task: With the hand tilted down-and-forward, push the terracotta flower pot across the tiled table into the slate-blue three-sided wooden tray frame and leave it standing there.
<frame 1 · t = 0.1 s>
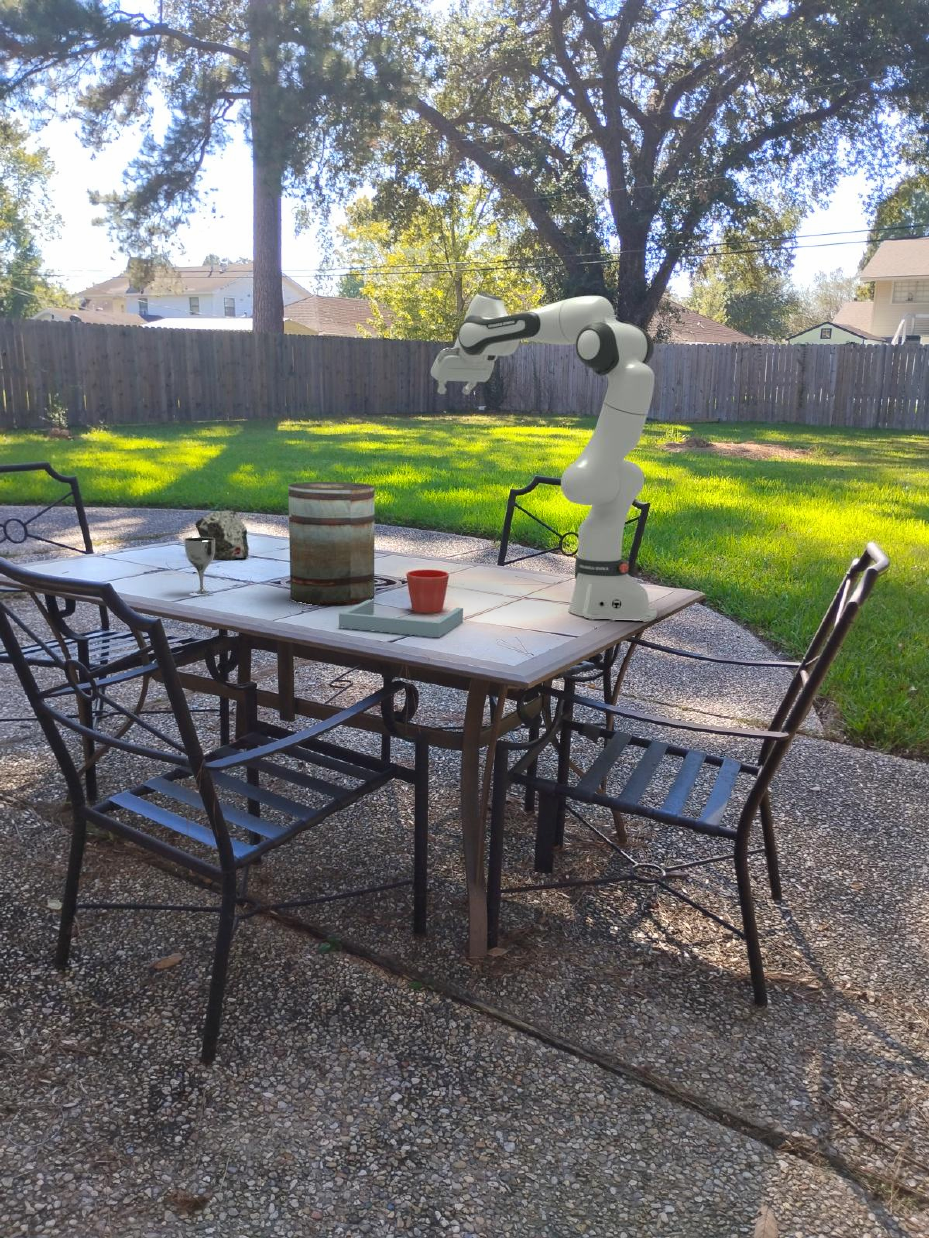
hand: (453, 393, 285), 54 cm above the table, tool tilted 30°, fingers open, 8 cm apart
tray frame: (403, 624, 240), on the table
barrel: (332, 598, 269), on the table
stone: (224, 556, 330), on the table
silver goblet: (201, 594, 270), on the table
flower pot: (427, 611, 256), on the table
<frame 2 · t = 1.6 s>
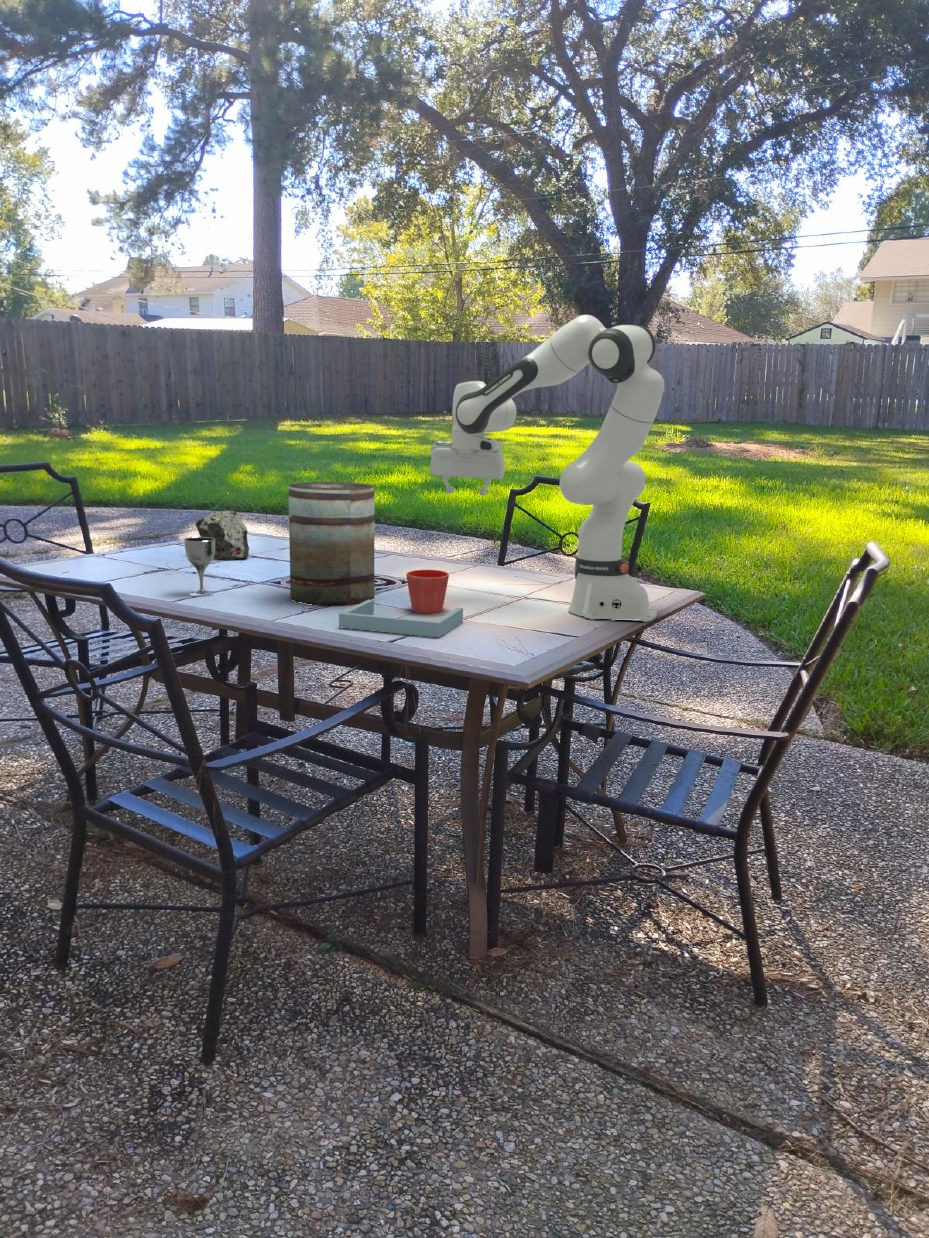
hand: (466, 494, 271), 28 cm above the table, tool pointing down, fingers open, 8 cm apart
nothing on the table moved.
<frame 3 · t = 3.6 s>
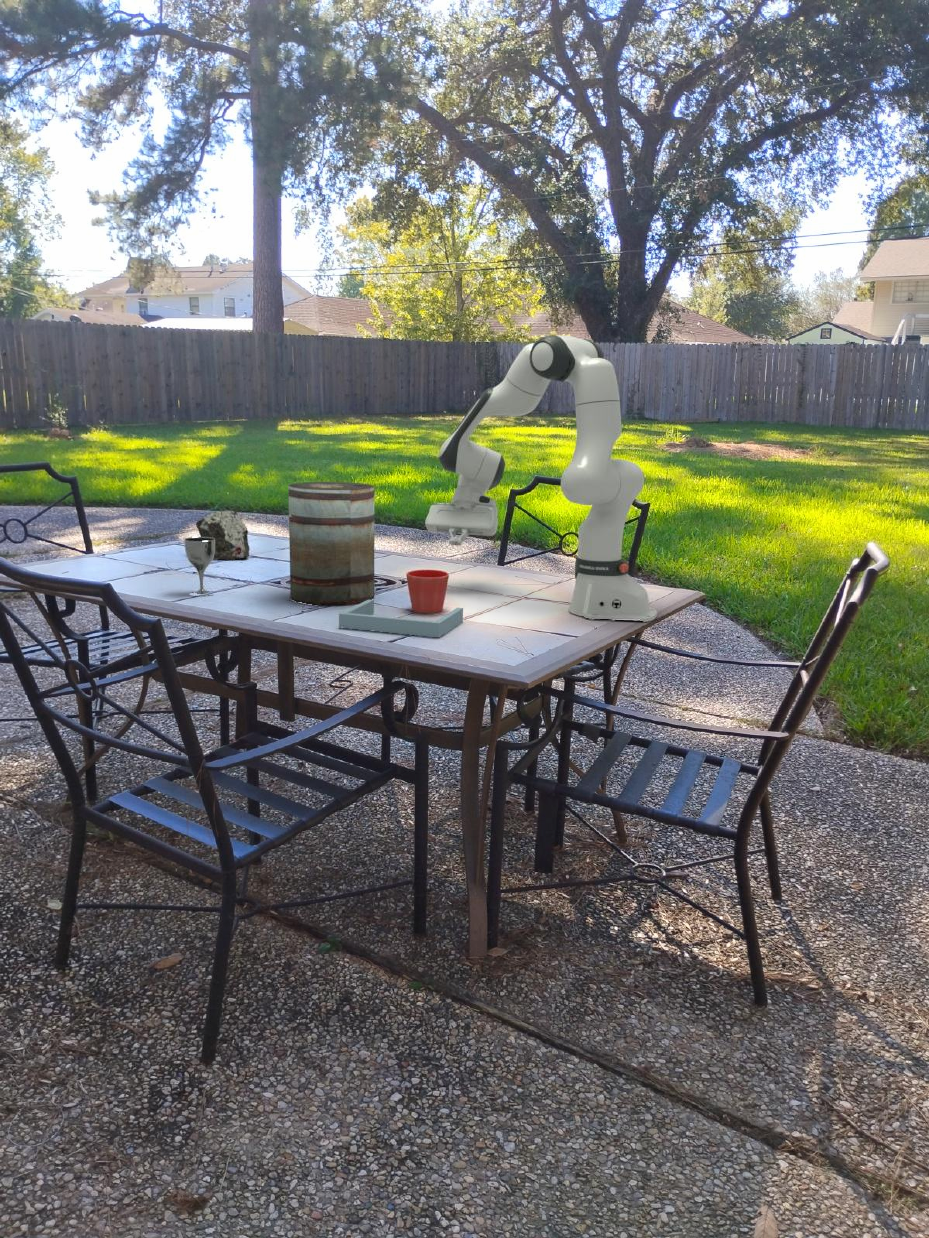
hand: (455, 544, 273), 14 cm above the table, tool tilted 45°, fingers closed
nothing on the table moved.
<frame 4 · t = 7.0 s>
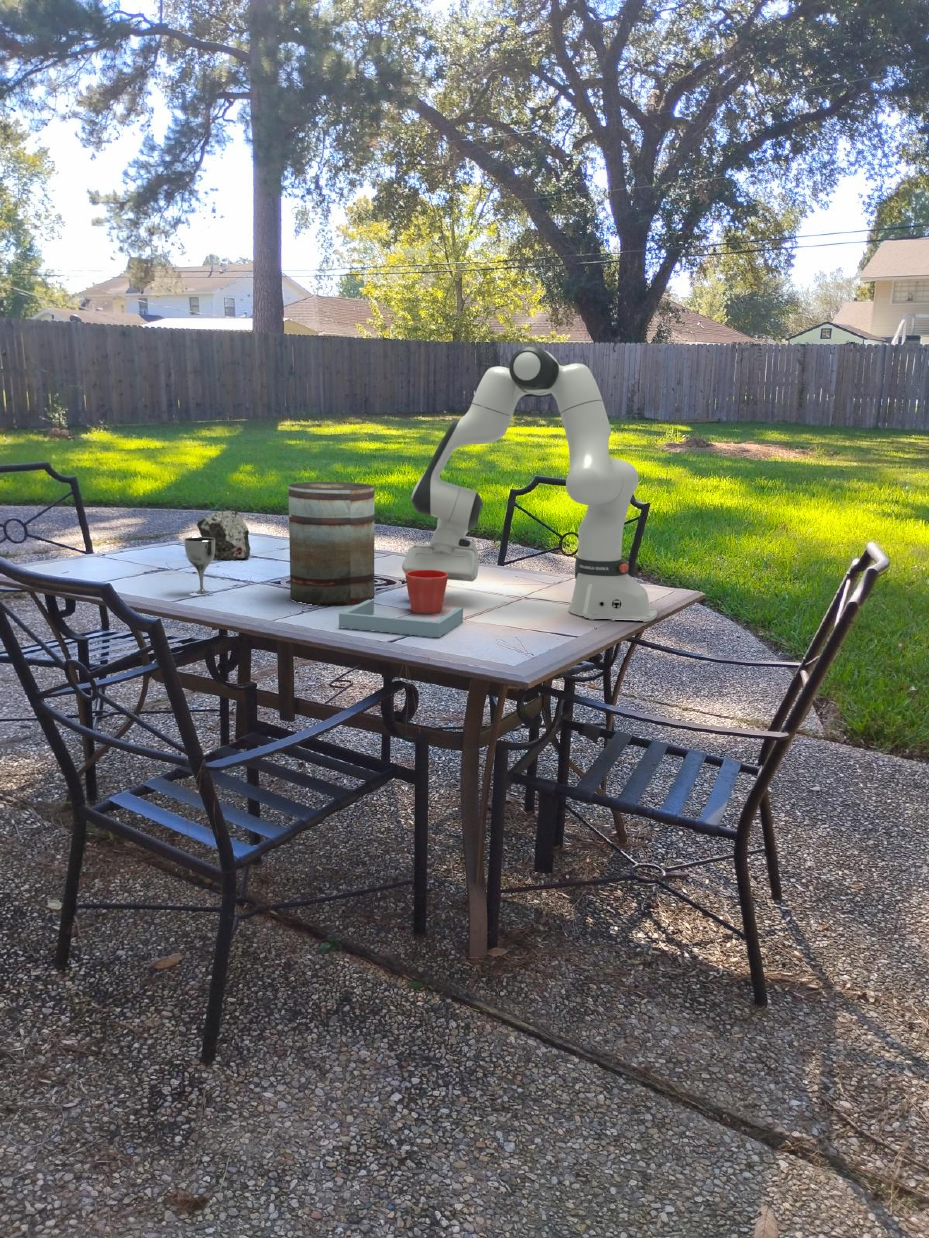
hand: (433, 590, 260), 4 cm above the table, tool tilted 45°, fingers closed
flower pot: (426, 611, 256), on the table, touching gripper
everything else where it was.
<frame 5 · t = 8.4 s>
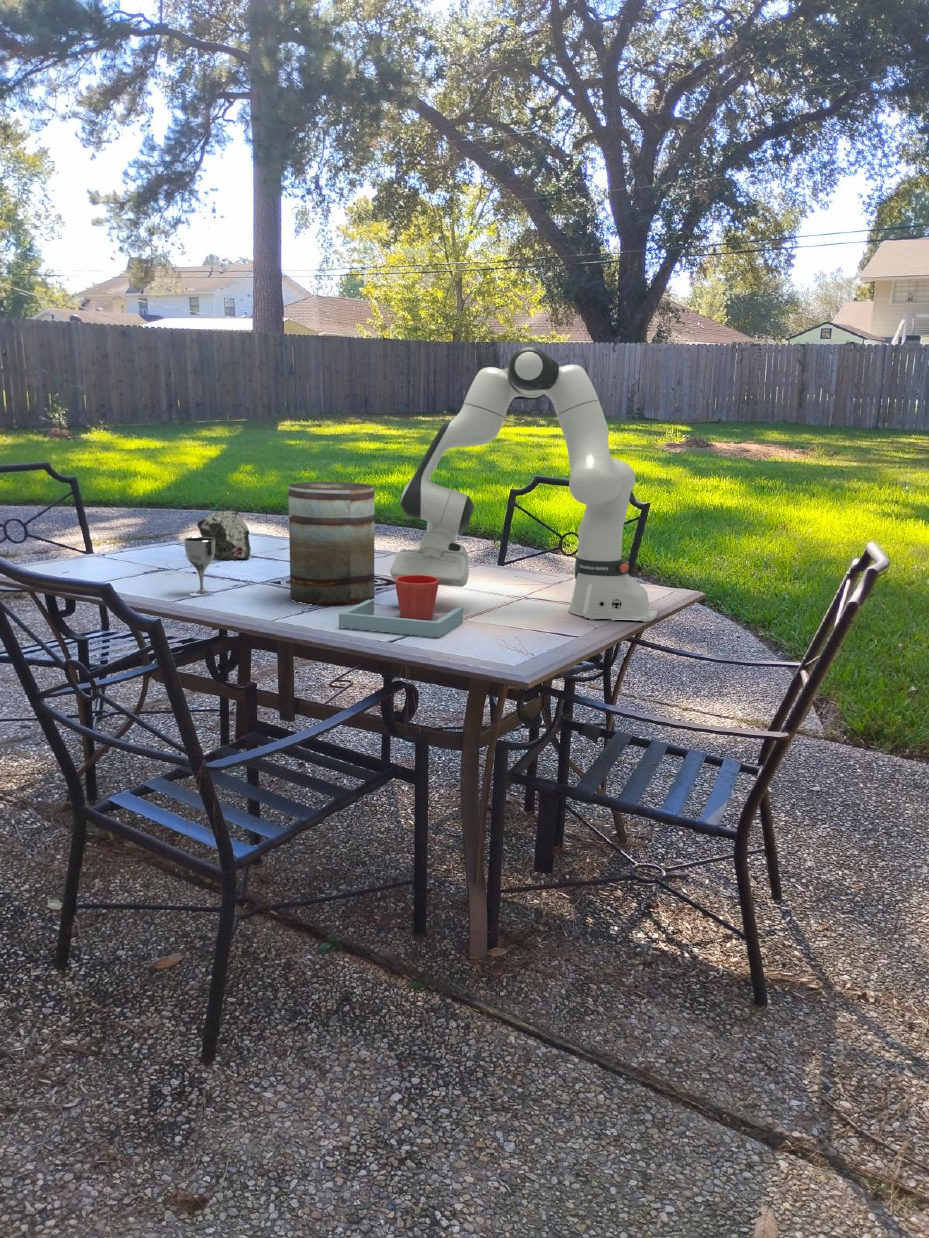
hand: (422, 595, 252), 4 cm above the table, tool tilted 45°, fingers closed
flower pot: (416, 618, 248), on the table, touching gripper
everything else where it was.
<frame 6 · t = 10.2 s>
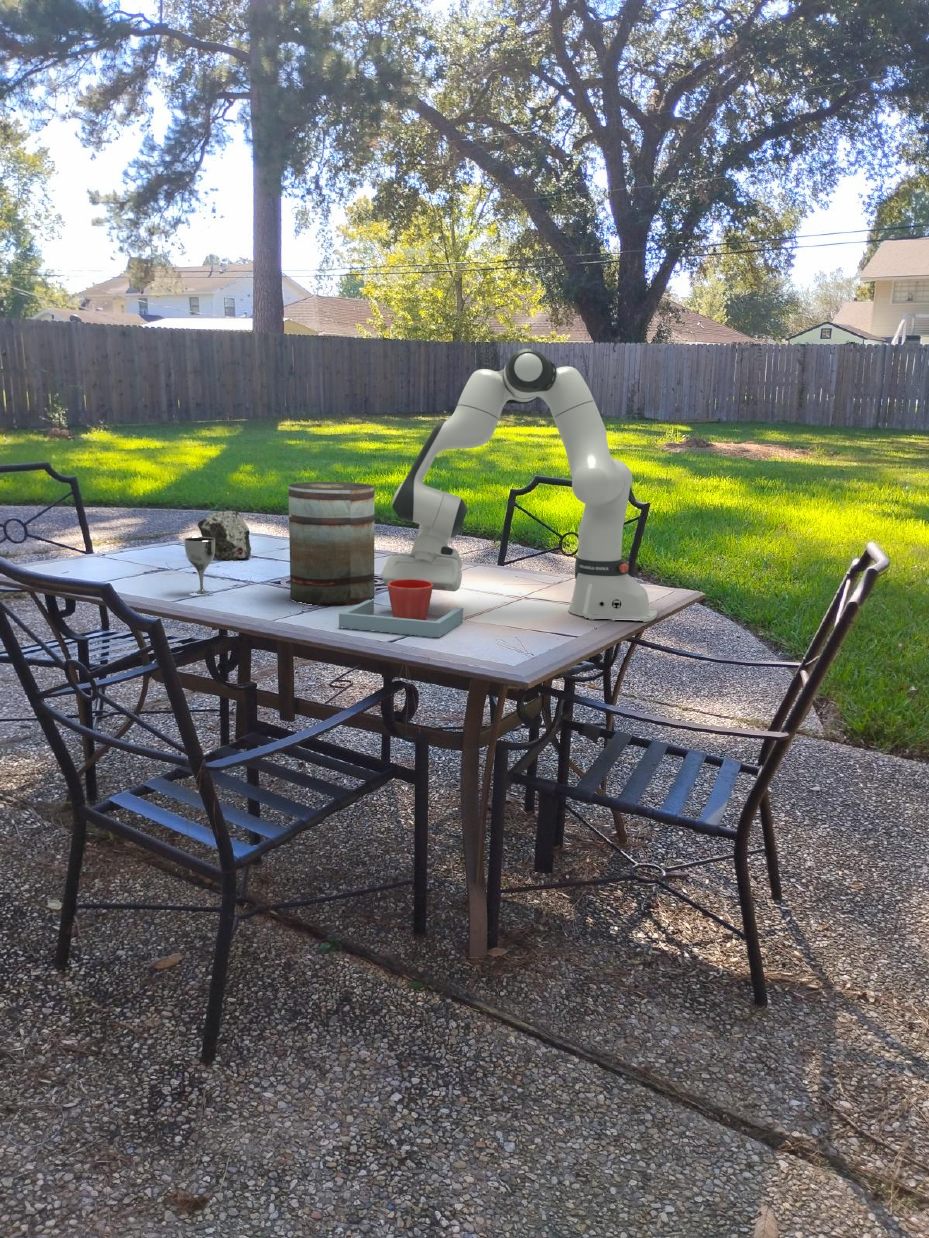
hand: (413, 600, 247), 4 cm above the table, tool tilted 45°, fingers closed
flower pot: (410, 623, 242), on the table, touching gripper
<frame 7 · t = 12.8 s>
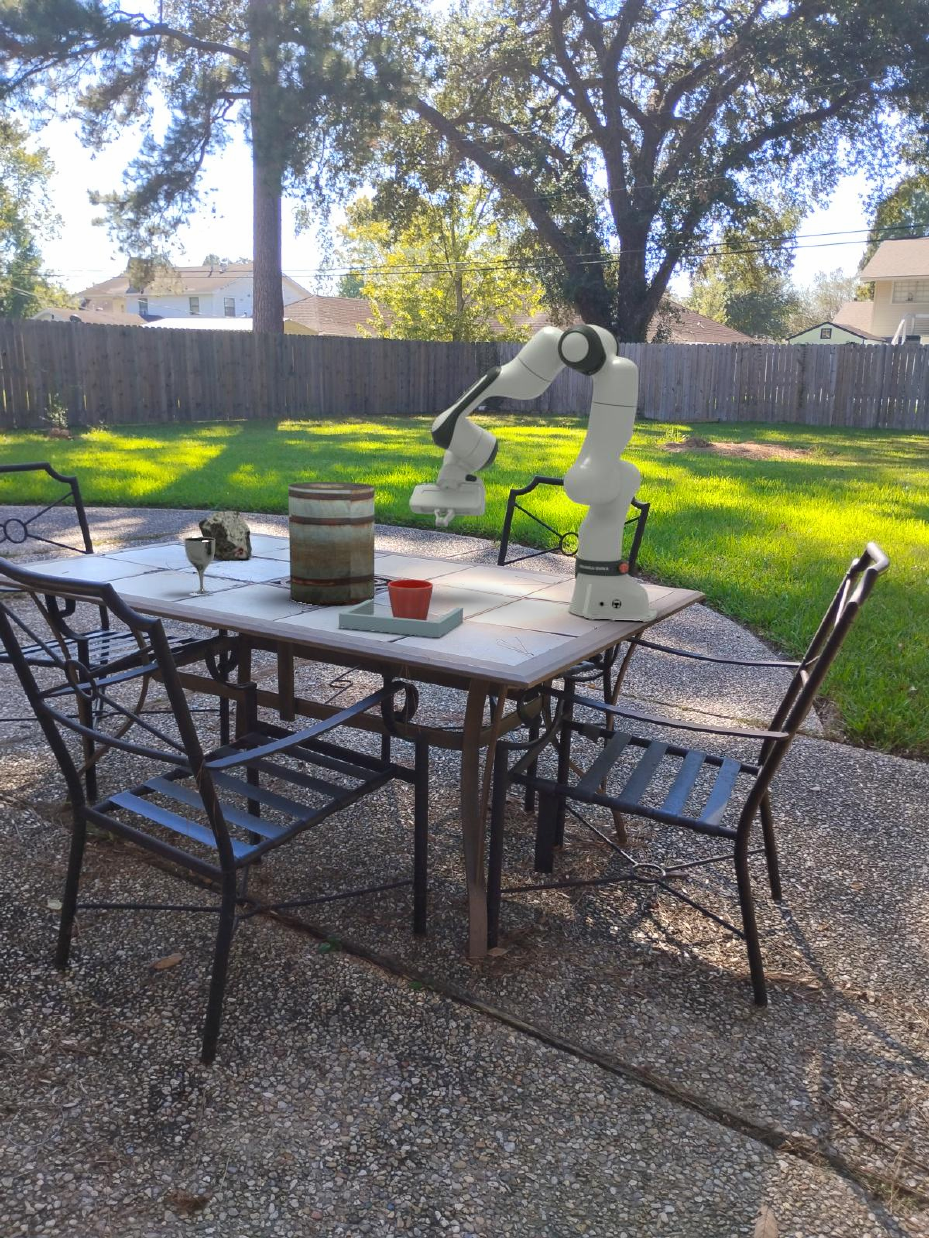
hand: (440, 525, 260), 21 cm above the table, tool tilted 45°, fingers closed
flower pot: (410, 623, 242), on the table
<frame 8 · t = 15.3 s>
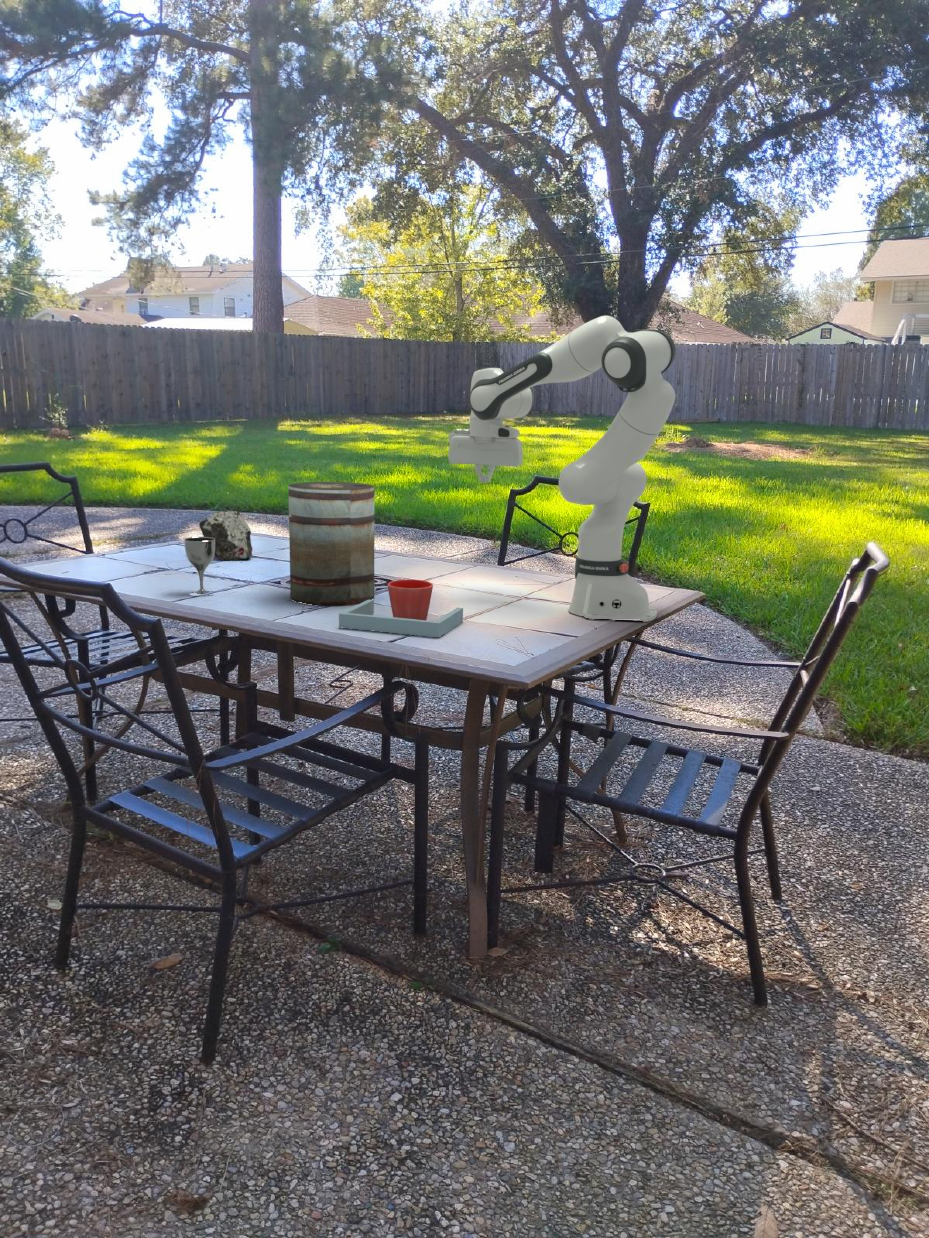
hand: (484, 482, 270), 31 cm above the table, tool pointing down, fingers closed
at the end: flower pot inside the target area on the tray frame (2.6 cm from its centre), point 0.0 cm above the tray frame's base; flower pot tilted 0° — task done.
